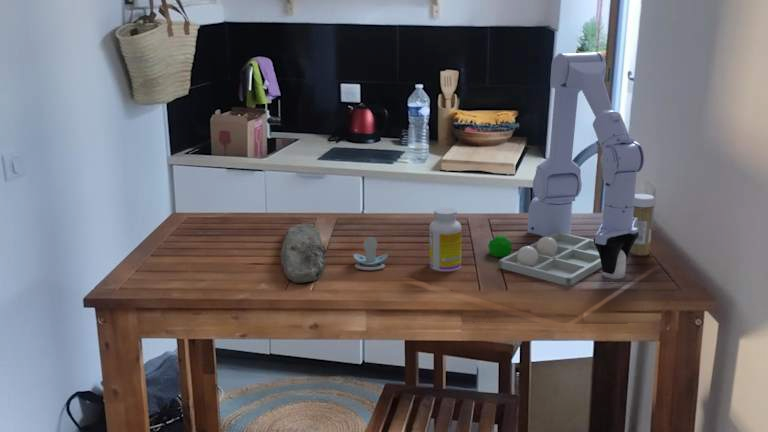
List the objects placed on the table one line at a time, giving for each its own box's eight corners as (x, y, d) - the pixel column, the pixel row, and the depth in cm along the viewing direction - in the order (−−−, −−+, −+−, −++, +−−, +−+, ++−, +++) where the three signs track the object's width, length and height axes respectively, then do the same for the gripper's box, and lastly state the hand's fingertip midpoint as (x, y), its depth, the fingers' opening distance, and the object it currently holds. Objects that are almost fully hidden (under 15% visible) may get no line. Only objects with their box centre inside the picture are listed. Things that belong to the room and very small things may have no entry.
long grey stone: (323, 237, 192) (282, 241, 191) (321, 216, 191) (280, 220, 190) (330, 282, 158) (281, 288, 157) (328, 257, 157) (278, 263, 156)
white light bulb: (598, 277, 158) (600, 248, 157) (608, 271, 162) (610, 242, 160) (618, 282, 156) (620, 253, 154) (628, 276, 159) (630, 247, 157)
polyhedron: (505, 263, 168) (506, 242, 167) (484, 259, 171) (485, 238, 169) (514, 256, 172) (515, 235, 171) (494, 252, 175) (494, 232, 173)
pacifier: (386, 272, 165) (388, 262, 170) (385, 244, 163) (388, 234, 168) (351, 272, 165) (355, 261, 171) (350, 244, 163) (354, 234, 169)
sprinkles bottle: (654, 256, 171) (659, 196, 167) (640, 260, 168) (645, 200, 164) (636, 250, 174) (641, 192, 170) (623, 254, 172) (627, 195, 168)
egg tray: (498, 271, 164) (498, 260, 163) (556, 241, 181) (557, 231, 180) (569, 290, 153) (569, 278, 153) (624, 257, 170) (625, 246, 170)
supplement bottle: (467, 268, 165) (468, 210, 162) (447, 277, 161) (447, 217, 157) (443, 261, 170) (443, 204, 166) (422, 269, 165) (422, 210, 162)
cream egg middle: (532, 257, 169) (533, 237, 168) (542, 251, 172) (543, 232, 171) (550, 261, 166) (551, 241, 165) (560, 256, 170) (561, 236, 168)
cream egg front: (512, 267, 164) (513, 247, 162) (523, 261, 167) (524, 241, 165) (530, 271, 161) (531, 251, 160) (542, 265, 164) (542, 245, 163)
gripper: (621, 216, 146) (616, 284, 150) (653, 199, 157) (648, 263, 161) (586, 209, 151) (582, 275, 155) (620, 193, 161) (615, 256, 165)
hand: (613, 269), depth 158 cm, fingers closed on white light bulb, 4 cm apart
